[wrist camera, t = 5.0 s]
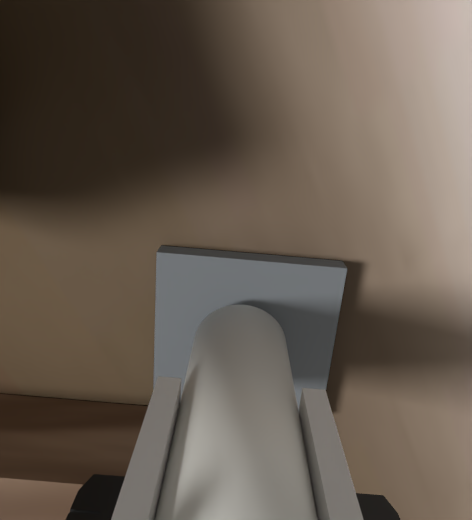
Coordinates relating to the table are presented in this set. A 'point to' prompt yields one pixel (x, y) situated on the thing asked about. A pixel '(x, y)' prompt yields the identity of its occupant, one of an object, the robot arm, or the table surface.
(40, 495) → the socket block
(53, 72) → the table surface
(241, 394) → the plug
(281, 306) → the mat
